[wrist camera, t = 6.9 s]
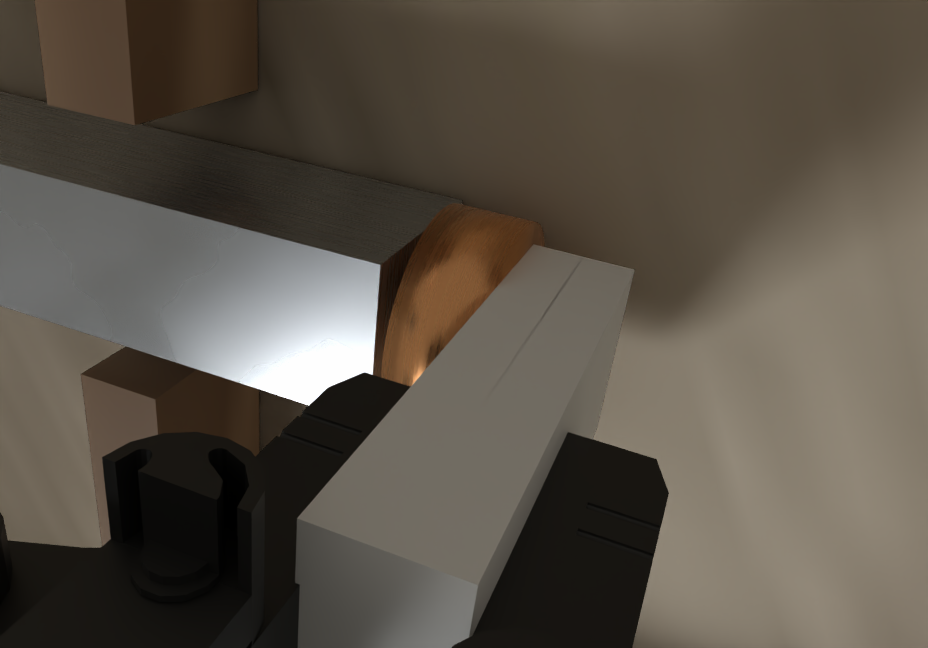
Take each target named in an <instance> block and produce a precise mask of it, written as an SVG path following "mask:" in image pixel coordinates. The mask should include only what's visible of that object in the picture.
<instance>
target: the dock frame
mask: <svg viewBox="0 0 928 648" xmlns="http://www.w3.org/2000/svg"><path fill="white" fill-rule="evenodd" d="M35 8H36V17H37V25H38V33H39V41H40V49H41V57H42V65H43V73H44V81H45V89H46V97H47V105H51V106H55V107H59V108H64V109H68V110H72V111H76V112H80V113H85V114H89V115H93V116H97V117H102V118H106V119H110V120H114V121H119V122H123V123H127V124H131V125H138V124H141V123H144V122H148V121H151V120H155V119H158V118H162V117H165V116H169V115H172V114H176V113H179V112H182V111H186V110H189V109H193V108H196V107H200V106H203V105H207V104H210V103H214V102H217V101H221V100H224V99H227V98H231V97H234V96H238V95H241V94H245V93H248V92H252V91H255V90H258V16H257V0H35ZM81 380H82V388H83V396H84V404H85V412H86V420H87V428H88V436H89V444H90V452H91V460H92V468H93V476H94V484H95V493H96V501H97V509H98V517H99V525H100V533H101V541H102V546H103V545H104V544H106V543H107V542H108V541H109V540H110V539H111V536H110V527H109V518H108V509H107V500H106V490H105V481H104V472H103V463H102V457H103V456H105V455H107V454H109V453H111V452H113V451H114V450H116V449H118V448H120V447H122V446H124V445H125V444H127V443H129V442H132V441H135V440H139V439H143V438H147V437H151V436H154V435H158V434H162V433H181V432H200V433H205V434H210V435H215V436H220V437H225V438H228V439H230V440H232V441H234V442H236V443H238V444H239V445H241V446H243V447H245V448H247V449H249V450H250V451H251V452H252V453H253V454H254V456H255V457H256V456H257V455H258V454H259V389H257V388H253V387H250V386H247V385H244V384H241V383H238V382H235V381H232V380H229V379H226V378H222V377H219V376H216V375H213V374H210V373H207V372H204V371H201V370H198V369H195V368H191V367H188V366H185V365H182V364H179V363H176V362H173V361H170V360H167V359H164V358H160V357H157V356H154V355H151V354H148V353H145V352H142V351H139V350H136V349H133V348H130V347H124V348H123V349H121V350H119V351H118V352H116V353H114V354H113V355H111V356H110V357H108V358H106V359H105V360H103V361H101V362H100V363H98V364H97V365H95V366H93V367H92V368H90V369H88V370H87V371H85V372H83V373H82V374H81Z"/></svg>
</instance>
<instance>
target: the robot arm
mask: <svg viewBox="0 0 928 648" xmlns="http://www.w3.org/2000/svg"><path fill="white" fill-rule="evenodd" d="M634 271H635V270H634V269H630V268H626V267H622V266H618V265H614V264H610V263H606V262H602V261H598V260H594V259H590V258H586V257H582V256H578V255H574V254H570V253H566V252H562V251H558V250H554V249H550V248H546V247H542V246H538V245H534V244H533V246H532V247H531V248H530V249H529V250H528V251H527V253H526V254H525V255H524V256H523V257H522V258H521V259H520V261H519V262H518V263H517V264H516V265H515V266H514V268H513V269H512V270H511V271H510V272H509V273H508V275H507V276H506V277H505V278H504V279H503V280H502V282H501V283H500V284H499V285H498V286H497V287H496V288H495V290H494V291H493V292H492V293H491V294H490V295H489V297H488V298H487V299H486V300H485V301H484V302H483V304H482V305H481V306H480V307H479V308H478V309H477V310H476V312H475V313H474V314H473V315H472V316H471V317H470V319H469V320H468V321H467V322H466V323H465V324H464V326H463V327H462V328H461V329H460V330H459V331H458V332H457V334H456V335H455V336H454V337H453V338H452V339H451V341H450V342H449V343H448V344H447V345H446V346H445V348H444V349H443V350H442V351H441V352H440V353H439V355H438V356H437V357H436V358H435V359H434V360H433V361H432V363H431V364H430V365H429V366H428V367H427V368H426V370H425V371H424V372H423V373H422V374H421V375H420V377H419V378H418V379H417V380H416V381H415V382H414V383H413V385H412V386H407V385H404V384H401V383H398V382H394V381H391V380H388V379H385V378H382V377H378V376H375V375H372V374H369V373H365V372H363V373H361V374H359V375H356V376H354V377H351V378H349V379H347V380H344V381H342V382H340V383H337V384H335V385H332V386H330V387H328V388H327V389H326V390H324V391H323V392H322V393H321V394H320V395H319V396H318V397H317V398H316V399H315V400H314V401H313V402H312V403H311V404H310V405H309V406H308V407H307V408H306V409H305V410H304V411H303V413H302V416H301V417H299V416H297V417H296V418H295V419H294V420H293V421H292V422H291V423H290V424H289V425H288V426H287V427H286V428H285V429H284V430H283V431H282V434H281V436H280V437H277V436H276V437H275V438H274V439H273V440H272V441H271V442H270V443H269V444H268V445H267V446H266V447H265V448H264V449H263V450H262V451H261V452H260V453H259V454H258V455H257V456H256V457H255V456H254V454H253V453H252V452H251V451H250V450H249V449H247V448H245V447H243V446H241V445H239V444H238V443H236V442H234V441H232V440H230V439H228V438H225V437H220V436H215V435H210V434H205V433H200V432H181V433H162V434H158V435H154V436H151V437H147V438H143V439H139V440H135V441H132V442H129V443H127V444H125V445H124V446H122V447H120V448H118V449H116V450H114V451H113V452H111V453H109V454H107V455H105V456H103V457H102V463H103V472H104V481H105V490H106V500H107V509H108V518H109V527H110V536H111V539H110V540H109V541H108V542H107V543H106V544H104V545H103V546H102V547H101V548H80V547H70V546H59V545H49V544H38V543H28V542H17V541H8V540H7V535H6V529H5V524H4V519H3V516H2V515H1V513H0V648H632V646H633V641H634V637H635V633H636V629H637V625H638V620H639V616H640V612H641V608H642V603H643V599H644V595H645V591H646V587H647V582H648V578H649V574H650V570H651V566H652V560H653V557H654V553H655V549H656V544H657V540H658V536H659V531H660V527H661V523H662V519H663V515H664V511H665V507H666V502H667V498H668V494H669V492H668V490H667V487H666V484H665V482H664V479H663V476H662V473H661V471H660V468H659V465H658V463H657V460H656V459H654V458H651V457H647V456H644V455H641V454H638V453H635V452H631V451H628V450H625V449H622V448H618V447H615V446H612V445H609V444H605V443H602V442H599V441H596V440H592V439H593V437H594V434H595V432H596V430H597V426H598V422H599V418H600V413H601V409H602V405H603V401H604V397H605V392H606V388H607V384H608V380H609V376H610V371H611V367H612V363H613V359H614V355H615V350H616V346H617V342H618V338H619V334H620V329H621V325H622V321H623V317H624V313H625V308H626V304H627V300H628V296H629V292H630V287H631V283H632V279H633V275H634Z"/></svg>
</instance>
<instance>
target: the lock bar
mask: <svg viewBox="0 0 928 648" xmlns="http://www.w3.org/2000/svg"><path fill="white" fill-rule="evenodd" d="M462 201H463V200H460V199H455V198H451V197H447V196H443V195H438V194H434V193H430V192H426V191H421V190H417V189H413V188H409V187H404V186H400V185H396V184H392V183H387V182H383V181H379V180H375V179H370V178H366V177H362V176H358V175H353V174H349V173H345V172H341V171H336V170H332V169H328V168H324V167H319V166H315V165H311V164H307V163H302V162H298V161H294V160H290V159H285V158H281V157H277V156H273V155H268V154H264V153H260V152H256V151H251V150H247V149H243V148H239V147H235V146H230V145H226V144H222V143H218V142H213V141H209V140H205V139H201V138H196V137H192V136H188V135H184V134H179V133H175V132H171V131H167V130H162V129H158V128H154V127H150V126H145V125H141V124H138V125H131V124H127V123H123V122H119V121H114V120H110V119H106V118H102V117H97V116H93V115H89V114H85V113H80V112H76V111H72V110H68V109H64V108H59V107H55V106H51V105H47V102H43V101H39V100H35V99H31V98H26V97H22V96H18V95H14V94H9V93H5V92H1V91H0V306H3V307H6V308H9V309H12V310H15V311H18V312H21V313H24V314H27V315H30V316H33V317H37V318H40V319H43V320H46V321H49V322H52V323H55V324H58V325H61V326H64V327H68V328H71V329H74V330H77V331H80V332H83V333H86V334H89V335H92V336H95V337H99V338H102V339H105V340H108V341H111V342H114V343H117V344H120V345H123V346H126V347H130V348H133V349H136V350H139V351H142V352H145V353H148V354H151V355H154V356H157V357H160V358H164V359H167V360H170V361H173V362H176V363H179V364H182V365H185V366H188V367H191V368H195V369H198V370H201V371H204V372H207V373H210V374H213V375H216V376H219V377H222V378H226V379H229V380H232V381H235V382H238V383H241V384H244V385H247V386H250V387H253V388H257V389H260V390H263V391H266V392H269V393H272V394H275V395H278V396H281V397H284V398H287V399H291V400H294V401H297V402H300V403H303V404H306V405H310V404H311V403H312V402H313V401H314V400H315V399H316V398H317V397H318V396H319V395H320V394H321V393H322V392H323V391H324V390H326V389H327V388H328V387H330V386H332V385H335V384H337V383H340V382H342V381H344V380H347V379H349V378H351V377H354V376H356V375H359V374H361V373H363V372H365V373H369V374H372V375H375V376H378V377H382V378H385V379H388V380H391V381H394V382H398V383H401V384H404V385H407V386H412V385H413V383H414V382H415V381H416V380H417V379H418V378H419V377H420V375H421V374H422V373H423V372H424V371H425V370H426V368H427V367H428V366H429V365H430V364H431V363H432V361H433V360H434V359H435V358H436V357H437V356H438V355H439V353H440V352H441V351H442V350H443V349H444V348H445V346H446V345H447V344H448V343H449V342H450V341H451V339H452V338H453V337H454V336H455V335H456V334H457V332H458V331H459V330H460V329H461V328H462V327H463V326H464V324H465V323H466V322H467V321H468V320H469V319H470V317H471V316H472V315H473V314H474V313H475V312H476V310H477V309H478V308H479V307H480V306H481V305H482V304H483V302H484V301H485V300H486V299H487V298H488V297H489V295H490V294H491V293H492V292H493V291H494V290H495V288H496V287H497V286H498V285H499V284H500V283H501V282H502V280H503V279H504V278H505V277H506V276H507V275H508V273H509V272H510V271H511V270H512V269H513V268H514V266H515V265H516V264H517V263H518V262H519V261H520V259H521V258H522V257H523V256H524V255H525V254H526V253H527V251H528V250H529V249H530V248H531V247H532V246H533V244H534V245H538V246H542V247H545V241H544V233H543V229H542V227H541V225H540V224H539V223H538V222H534V221H529V220H525V219H521V218H517V217H513V216H508V215H504V214H500V213H496V212H491V211H487V210H483V209H479V208H475V207H470V206H466V205H462Z"/></svg>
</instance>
